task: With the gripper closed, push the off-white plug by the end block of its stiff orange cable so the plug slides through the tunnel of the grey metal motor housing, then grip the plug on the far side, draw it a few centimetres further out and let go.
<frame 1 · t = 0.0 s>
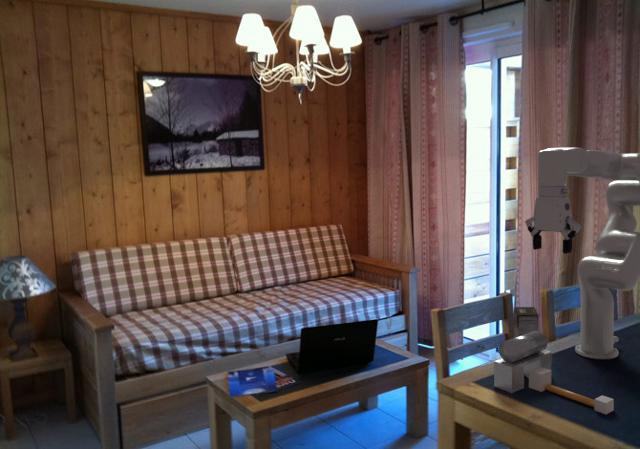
hand: (551, 250, 164), 37 cm above the table, tool pointing down, fingers open, 9 cm apart
motor housing: (523, 381, 163), on the table
coffee box: (526, 360, 180), on the table
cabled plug: (540, 387, 159), on the table
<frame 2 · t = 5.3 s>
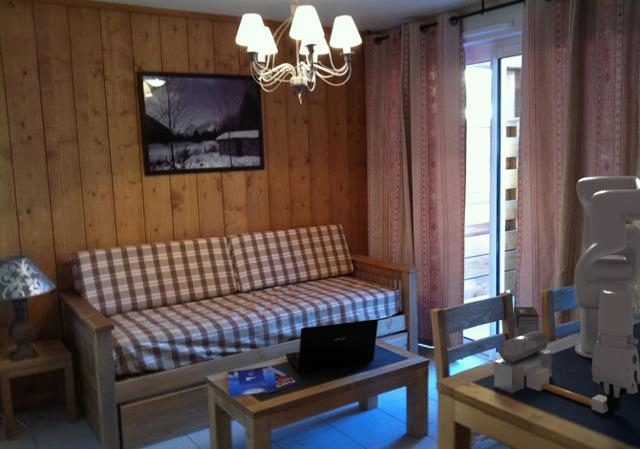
hand: (614, 409, 141), 1 cm above the table, tool pointing down, fingers closed
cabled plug: (537, 386, 159), on the table, touching gripper
everything else where it was.
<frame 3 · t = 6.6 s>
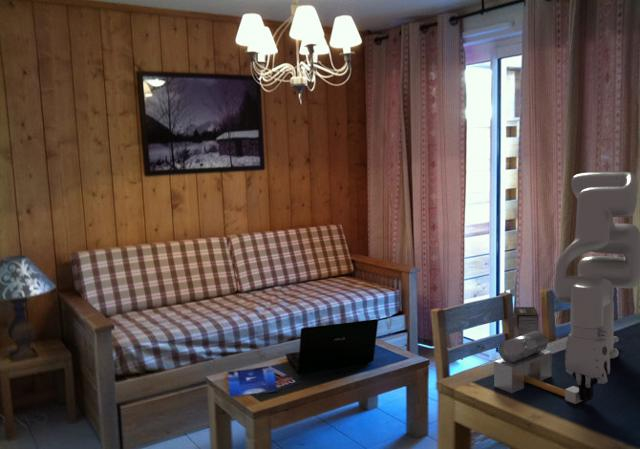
hand: (585, 399, 147), 1 cm above the table, tool pointing down, fingers closed
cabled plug: (516, 378, 165), on the table, touching gripper
everything else where it was.
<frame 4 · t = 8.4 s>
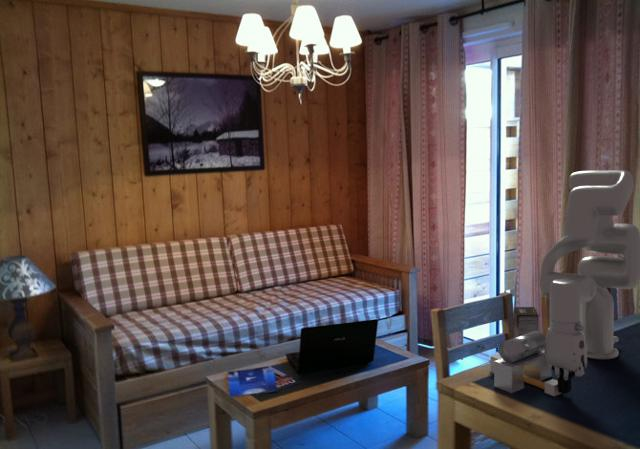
hand: (564, 391, 152), 1 cm above the table, tool pointing down, fingers closed
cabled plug: (500, 372, 171), on the table, touching gripper
everything else where it was.
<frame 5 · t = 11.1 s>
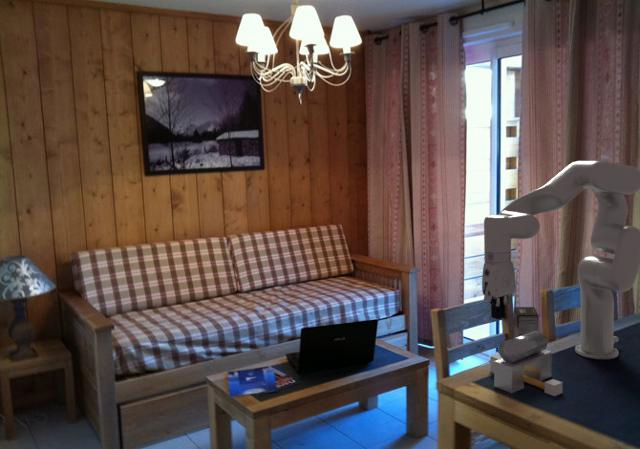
hand: (498, 317, 168), 17 cm above the table, tool pointing down, fingers closed
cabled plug: (500, 372, 171), on the table
everything else where it was.
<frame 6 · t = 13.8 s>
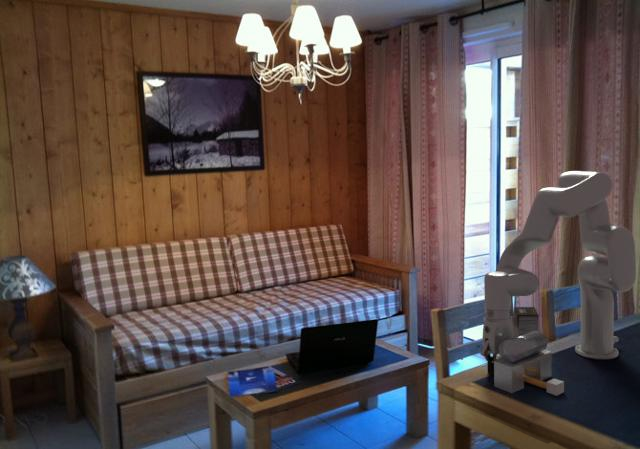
hand: (498, 371, 170), 0 cm above the table, tool pointing down, fingers open, 4 cm apart
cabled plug: (499, 372, 170), on the table, touching gripper
everything else where it was.
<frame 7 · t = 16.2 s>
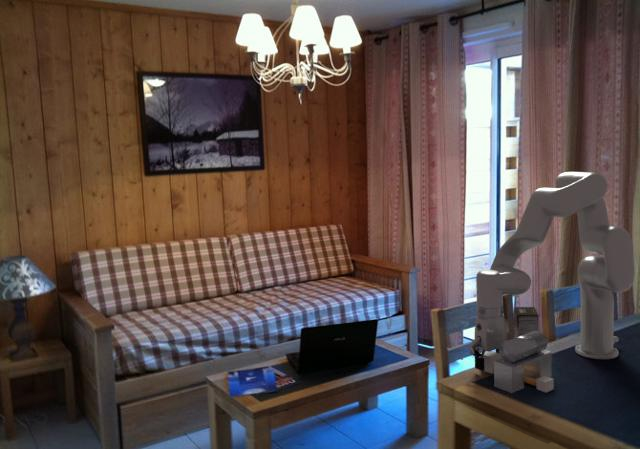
hand: (490, 365, 173), 1 cm above the table, tool pointing down, fingers open, 9 cm apart
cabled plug: (491, 369, 173), on the table
everything else where it was.
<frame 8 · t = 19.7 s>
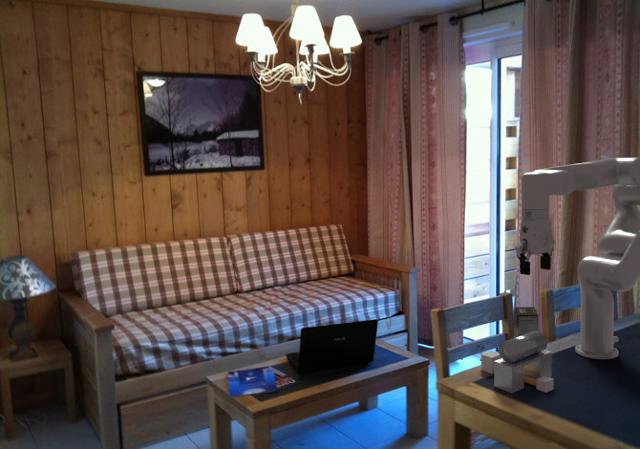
hand: (535, 271, 167), 30 cm above the table, tool pointing down, fingers open, 9 cm apart
nothing on the table moved.
at the end: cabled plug inside the target area (0.9 cm from its centre), on the table; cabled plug tilted 0°; the gripper is holding nothing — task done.
